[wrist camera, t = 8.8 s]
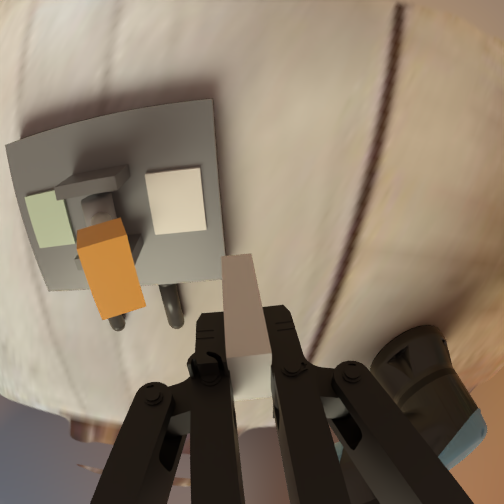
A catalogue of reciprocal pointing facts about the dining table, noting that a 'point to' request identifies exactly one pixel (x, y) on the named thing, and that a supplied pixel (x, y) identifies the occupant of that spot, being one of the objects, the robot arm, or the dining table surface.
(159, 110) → the breaker box
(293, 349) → the robot arm
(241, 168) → the dining table surface
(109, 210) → the breaker lever
